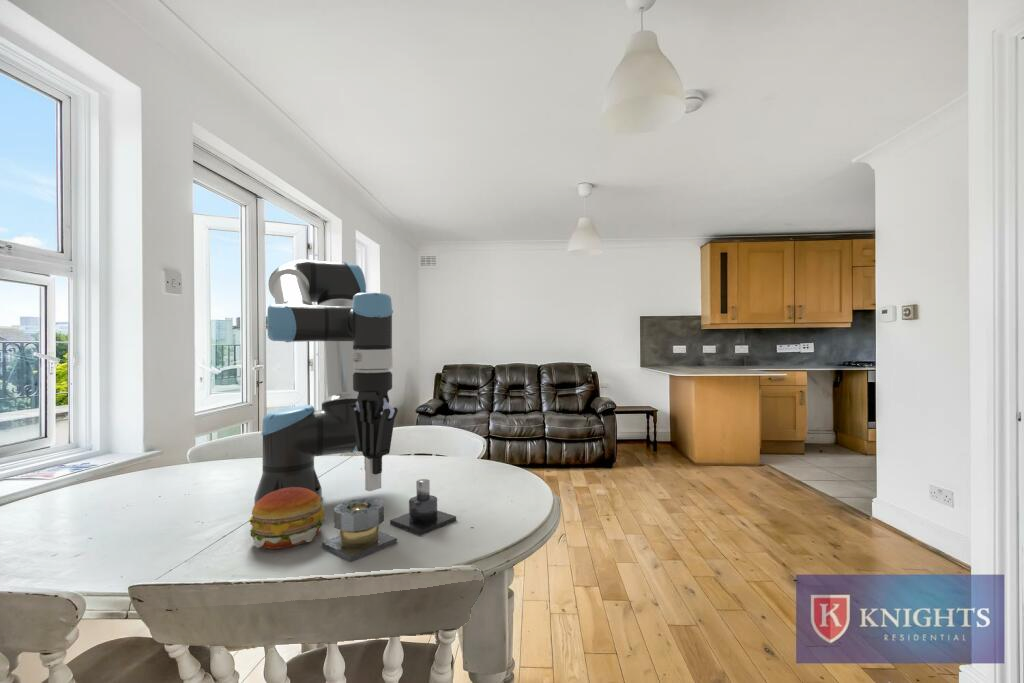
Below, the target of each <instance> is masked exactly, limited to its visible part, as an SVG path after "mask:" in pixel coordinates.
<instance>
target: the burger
mask: <svg viewBox="0 0 1024 683" xmlns="http://www.w3.org/2000/svg"><path fill="white" fill-rule="evenodd" d="M322 501H323V500H322V498H320V497H319V496H318V495H317V494H316V492H313V491H311V490H309V489H306V488H301V487H289V488H283V489H279V490H276V491H273V492H270V493H269V494H267V495H265V496H264V497H262V498H261V499H260V500H259V501H257V503H256V504H255V505H253V507H252V511H251V517H249V518H250V519H249V523H250V526H252V527H251V529H250V530H249V532H250V536H251V537H252V539H253V543H254V544H255V548H257V549H259V548H264V549H273V550H274V549H283V548H285V549H286V548H290V547H294V546H298V545H302V544H304V543H310V542H312V541H313V539H314V538H315V537H316V536H317V535H318V534H319V532H320V530H321V527H322V526H323V520H324V519H325V517H324V516H325V514H324V507H323V506H322Z"/></svg>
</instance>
